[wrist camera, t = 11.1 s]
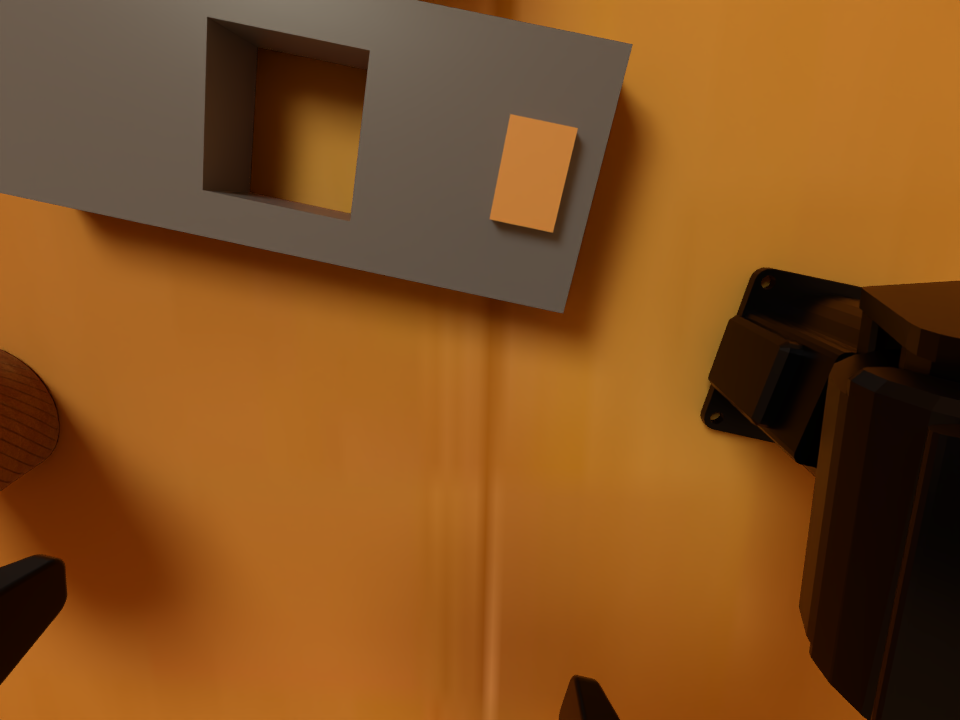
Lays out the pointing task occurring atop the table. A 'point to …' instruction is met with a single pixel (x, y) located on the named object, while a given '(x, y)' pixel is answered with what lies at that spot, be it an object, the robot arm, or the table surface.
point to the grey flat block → (383, 138)
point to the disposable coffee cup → (23, 420)
